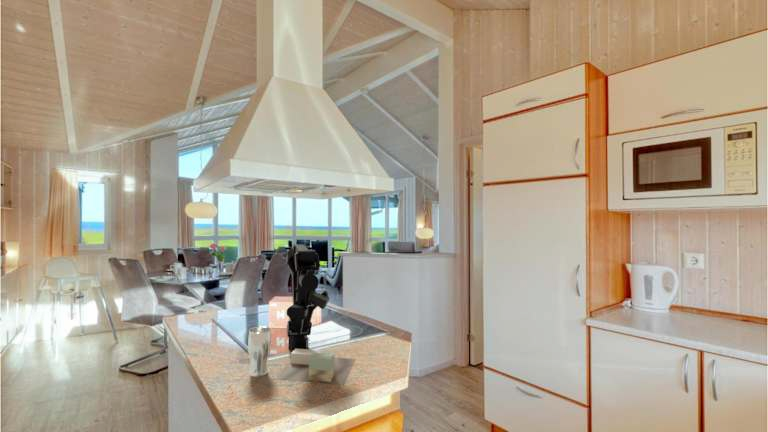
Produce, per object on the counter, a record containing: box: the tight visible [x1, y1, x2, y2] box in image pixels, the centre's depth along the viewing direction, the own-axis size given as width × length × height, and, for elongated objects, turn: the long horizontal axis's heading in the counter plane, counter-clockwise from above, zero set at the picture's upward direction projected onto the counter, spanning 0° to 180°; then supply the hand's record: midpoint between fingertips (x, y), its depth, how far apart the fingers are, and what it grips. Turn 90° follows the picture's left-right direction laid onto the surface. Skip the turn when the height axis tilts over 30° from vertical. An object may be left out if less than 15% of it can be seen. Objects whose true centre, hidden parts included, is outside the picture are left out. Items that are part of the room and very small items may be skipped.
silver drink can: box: [247, 326, 272, 378], centre depth 115 cm, size 7×7×15 cm
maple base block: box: [309, 366, 334, 382], centre depth 113 cm, size 7×4×4 cm, turn 84°
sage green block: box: [309, 352, 336, 371], centre depth 113 cm, size 7×4×4 cm, turn 84°
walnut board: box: [274, 357, 356, 386], centre depth 120 cm, size 22×20×1 cm
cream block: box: [289, 348, 315, 365], centre depth 125 cm, size 7×4×4 cm, turn 84°
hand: (303, 329), depth 125 cm, fingers open, 9 cm apart
